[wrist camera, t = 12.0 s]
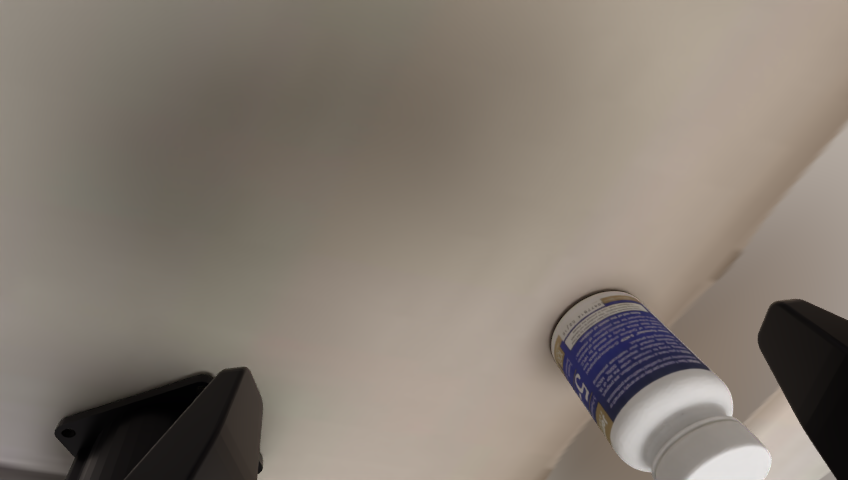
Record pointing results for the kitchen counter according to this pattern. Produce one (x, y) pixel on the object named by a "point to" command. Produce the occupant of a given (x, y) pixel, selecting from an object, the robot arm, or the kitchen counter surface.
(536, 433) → the kitchen counter surface
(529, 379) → the kitchen counter surface
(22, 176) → the kitchen counter surface
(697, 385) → the pill bottle
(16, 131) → the kitchen counter surface
